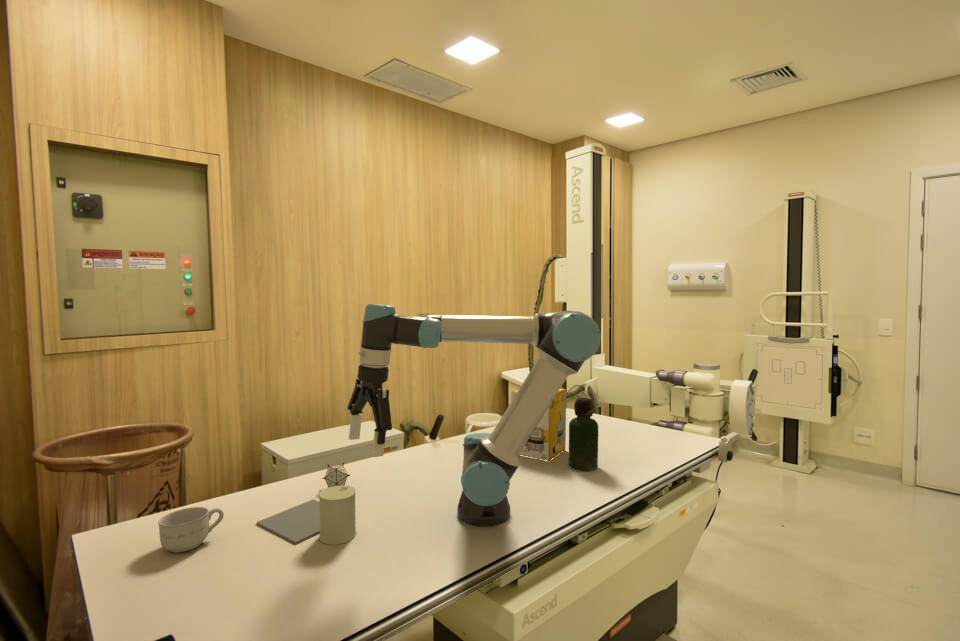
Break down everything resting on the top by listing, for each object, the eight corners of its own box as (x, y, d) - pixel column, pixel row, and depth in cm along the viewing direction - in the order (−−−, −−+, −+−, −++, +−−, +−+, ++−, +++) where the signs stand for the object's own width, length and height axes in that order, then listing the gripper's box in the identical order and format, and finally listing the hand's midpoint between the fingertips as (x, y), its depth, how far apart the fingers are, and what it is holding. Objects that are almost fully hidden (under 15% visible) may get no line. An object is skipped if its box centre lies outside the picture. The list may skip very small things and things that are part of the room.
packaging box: (565, 450, 193) (566, 389, 192) (548, 462, 179) (549, 396, 178) (529, 443, 202) (529, 384, 200) (510, 454, 188) (511, 391, 187)
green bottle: (565, 469, 172) (566, 401, 170) (571, 460, 181) (572, 395, 180) (595, 474, 168) (596, 403, 166) (599, 464, 177) (600, 397, 176)
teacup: (156, 562, 112) (155, 529, 111) (162, 541, 121) (161, 510, 121) (223, 548, 118) (223, 516, 118) (224, 528, 128) (223, 499, 127)
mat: (352, 517, 135) (352, 515, 134) (295, 544, 120) (295, 542, 120) (313, 501, 145) (313, 499, 145) (256, 524, 130) (256, 522, 130)
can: (363, 530, 127) (362, 486, 127) (342, 547, 118) (341, 500, 118) (333, 524, 130) (333, 481, 130) (311, 541, 121) (310, 495, 121)
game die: (339, 502, 153) (339, 484, 147) (316, 490, 154) (315, 473, 148) (354, 480, 160) (355, 462, 154) (332, 469, 161) (333, 451, 155)
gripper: (340, 356, 128) (332, 433, 129) (383, 375, 109) (374, 466, 110) (366, 356, 133) (358, 431, 134) (412, 374, 113) (402, 462, 114)
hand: (365, 447), depth 122 cm, fingers open, 13 cm apart
